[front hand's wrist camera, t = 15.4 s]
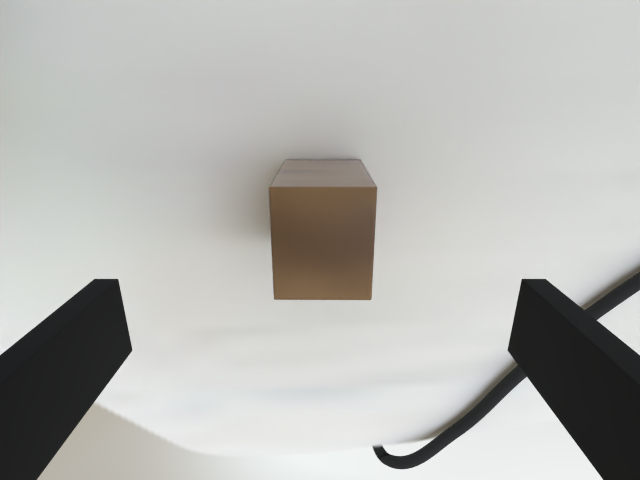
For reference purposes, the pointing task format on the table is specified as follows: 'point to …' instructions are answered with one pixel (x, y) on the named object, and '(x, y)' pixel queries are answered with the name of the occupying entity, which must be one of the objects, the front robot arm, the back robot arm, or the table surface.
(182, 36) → the table surface
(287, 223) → the block
